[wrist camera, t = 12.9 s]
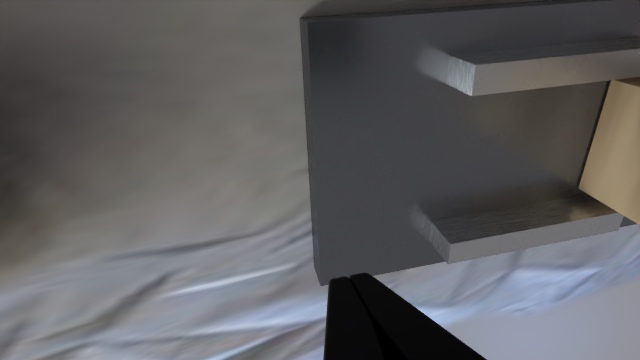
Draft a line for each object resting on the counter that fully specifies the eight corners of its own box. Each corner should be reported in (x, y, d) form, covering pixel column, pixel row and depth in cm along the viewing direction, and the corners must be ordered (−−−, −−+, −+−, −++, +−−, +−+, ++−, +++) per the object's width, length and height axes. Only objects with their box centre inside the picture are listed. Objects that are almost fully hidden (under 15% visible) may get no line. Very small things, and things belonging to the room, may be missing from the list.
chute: (314, 267, 22) (330, 314, 19) (299, 18, 16) (319, 29, 13) (640, 206, 27) (695, 237, 24) (726, -12, 20) (816, -9, 17)
